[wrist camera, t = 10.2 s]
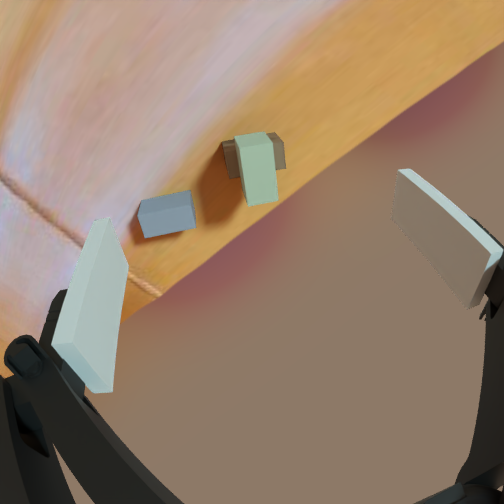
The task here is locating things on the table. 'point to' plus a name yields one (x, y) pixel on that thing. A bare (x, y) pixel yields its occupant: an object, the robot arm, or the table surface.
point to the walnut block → (232, 158)
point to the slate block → (167, 214)
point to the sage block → (257, 168)
